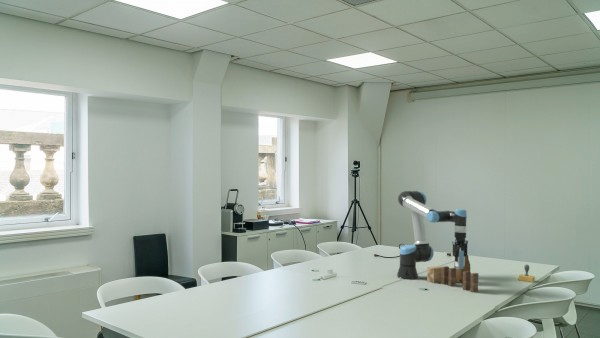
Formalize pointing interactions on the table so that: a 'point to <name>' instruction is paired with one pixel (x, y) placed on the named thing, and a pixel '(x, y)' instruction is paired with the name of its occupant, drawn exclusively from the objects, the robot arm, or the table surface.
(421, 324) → the table surface
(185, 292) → the table surface
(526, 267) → the rubber stamp
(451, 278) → the domino
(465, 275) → the domino
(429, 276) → the end block
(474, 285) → the domino
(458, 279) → the bread loaf
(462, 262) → the domino
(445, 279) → the domino
